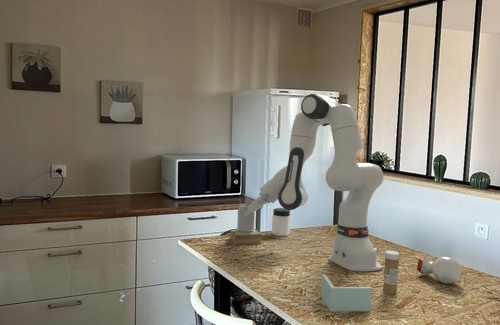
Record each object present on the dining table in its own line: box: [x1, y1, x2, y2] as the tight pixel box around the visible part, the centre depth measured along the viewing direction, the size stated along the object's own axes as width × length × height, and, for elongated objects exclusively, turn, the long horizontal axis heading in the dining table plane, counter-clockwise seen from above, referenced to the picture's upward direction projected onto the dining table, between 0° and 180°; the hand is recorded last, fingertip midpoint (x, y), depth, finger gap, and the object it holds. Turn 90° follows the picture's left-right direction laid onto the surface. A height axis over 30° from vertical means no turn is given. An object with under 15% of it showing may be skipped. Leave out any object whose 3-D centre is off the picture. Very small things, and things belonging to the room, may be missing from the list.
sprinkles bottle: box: [382, 250, 401, 295], centre depth 152 cm, size 5×5×14 cm
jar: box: [271, 207, 291, 237], centre depth 227 cm, size 9×8×12 cm
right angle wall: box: [320, 274, 373, 312], centre depth 142 cm, size 12×12×8 cm
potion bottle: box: [416, 255, 463, 285], centre depth 166 cm, size 9×10×15 cm
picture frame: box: [230, 228, 262, 245], centre depth 212 cm, size 10×12×4 cm
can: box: [236, 203, 255, 233], centre depth 212 cm, size 8×8×12 cm
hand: (247, 213), depth 211 cm, fingers open, 8 cm apart
